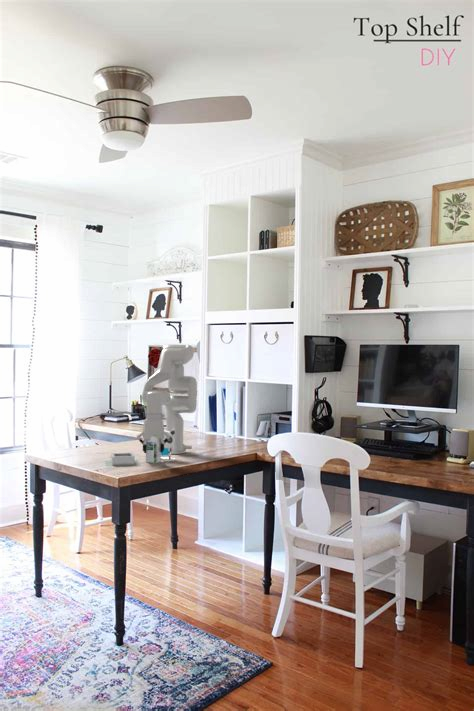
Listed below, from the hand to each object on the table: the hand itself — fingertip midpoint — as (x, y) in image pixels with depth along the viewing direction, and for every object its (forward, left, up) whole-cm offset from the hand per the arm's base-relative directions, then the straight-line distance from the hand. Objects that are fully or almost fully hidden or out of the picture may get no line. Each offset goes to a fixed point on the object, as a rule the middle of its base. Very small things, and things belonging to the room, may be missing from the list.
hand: (153, 452), depth 297 cm
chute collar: (+15, +1, -5) cm, 16 cm away
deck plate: (+15, +1, -6) cm, 16 cm away
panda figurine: (-7, -14, -7) cm, 17 cm away
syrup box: (0, 0, -6) cm, 6 cm away
